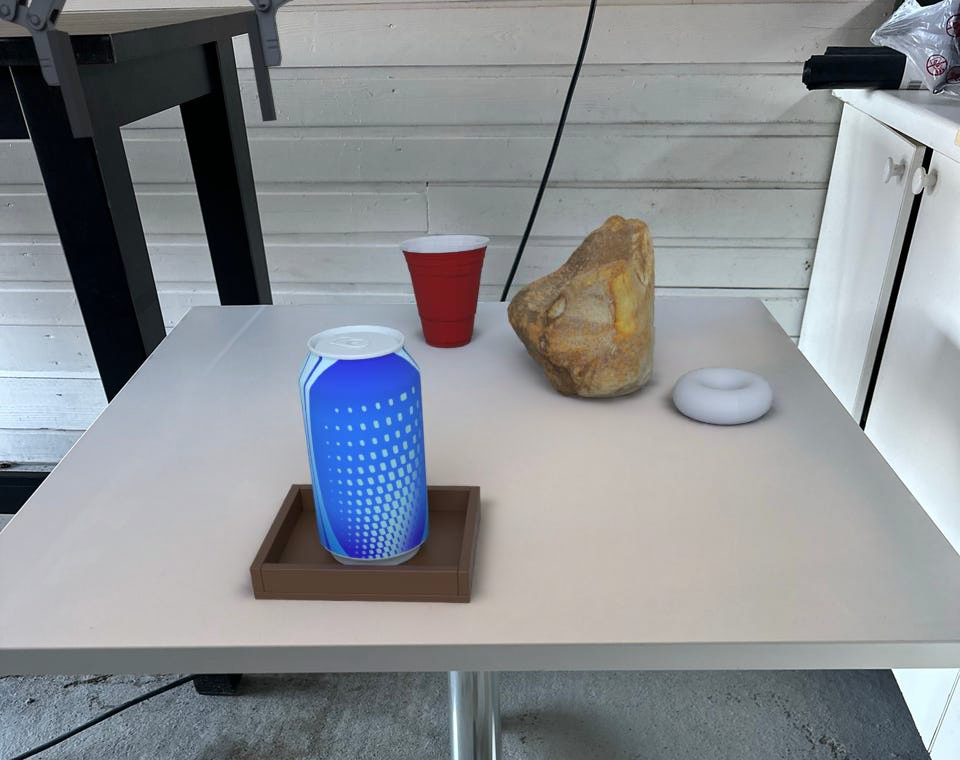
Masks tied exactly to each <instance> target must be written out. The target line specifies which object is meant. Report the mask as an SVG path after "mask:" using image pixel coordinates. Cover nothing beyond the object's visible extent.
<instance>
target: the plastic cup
mask: <svg viewBox="0 0 960 760" xmlns="http://www.w3.org/2000/svg"><path fill="white" fill-rule="evenodd" d="M490 242H491V239H490V238H489V237H487V236H482V235H474V234H473V235H472V234H445V235H431V236H430V235H429V236H422V237H414V238H409V239H405V240H402V241H399V242H398V246H399V250H400V251H402V254H403V256H404V259H405V262H406V265H407V269H408V272H409V276H410V280H411V285H412V289H413V294H414V299H415V303H416V308H417V314H418V316H419V318H420V325H421V327H422V333H423V338H424V339H425V342H426V344H427V345H428V346H431V347H436V348H443V349H450V348H457V347H464V346H465V345H468V344H470V343H471V341H472V336H473V335H474V334H473V333H474V327H475V326H474V325H475V319H476V314H477V311H478V310H477V309H478V302H479V295H480V287H481V281H482V280H481V279H482V273H483V272H482V271H483V268H484V261H485V257H486V252H487V248H488V245H490Z"/></svg>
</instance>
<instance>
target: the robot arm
mask: <svg viewBox="0 0 960 760" xmlns="http://www.w3.org/2000/svg"><path fill="white" fill-rule="evenodd" d="M248 1H249V3H251V4H252V6H253V7H254V11H255V12H252V13H245V14H244V19H245V25H246V31H247V37H248V42H249V49H250V55H251V59H252V66H253V71H254V77H255V83H256V90H257V96H258V101H259V106H260V112H261V118H262V122H274V121H278V119H277V112H276V107H275V106H276V105H275V100H274V93H273V88H272V82H271V76H270V70H269V68H276V67H281V66H282V61H283V60H282V59H283V55H282V50H281V43H280V42H281V41H280V37H279V31H278V24H277V13H278V10H279V9H280V8H282V7H283V6H285V5H287V4H288V3H290V2H293V1H294V0H248ZM66 3H67V0H31V1H30V4H29V0H0V19H1V20H2V21H5V22H8V23H12V24H14V25H18V26H22V27H24V28H25V29H27V31H28V32H29V33H30V35H31V37H32V39H33V43H34V47H35V51H36V54H37V58H38V63H39V65H40V70H41V73H42V77H43V79H44V80H45V82H46V83H47V85H48V86H59V87H60V90H61V94H62V98H63V102H64V105H65V111H66V113H67V118H68V120H69V125H70V128H71V132H72V135H73V139H81V138H90V137H95V133H94V128H93V125H92V121H91V117H90V113H89V109H88V105H87V101H86V96H85V94H84V88H83V85H82V82H81V78H80V73H79V70H78V65H77V62H76V57H75V54H74V50H73V45H72V42H71V38H70V37H71V36H70V34H69V32H68V31H63V30H60V29H58V28H57V27H56V26H57V24H58V21H59V19H60V17H61V14H62V12H63V10H64V7H65V5H66Z"/></svg>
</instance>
